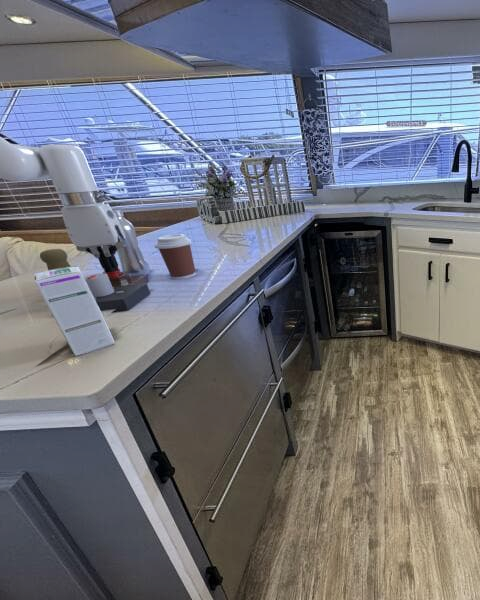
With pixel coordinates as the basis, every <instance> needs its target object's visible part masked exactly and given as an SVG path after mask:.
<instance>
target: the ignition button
mask: <svg viewBox="0 0 480 600" xmlns="http://www.w3.org/2000/svg"><path fill="white" fill-rule="evenodd" d="M121 272H122V270H121V268H118V269H117V270H115V271H113V272H110V271H109V272H105V271H104V270H103V272H102V273H106V274H107V275H108V277H109V278H112V277H117V276H120V275H122V274H121Z"/></svg>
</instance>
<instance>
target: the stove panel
mask: <svg viewBox="0 0 480 600" xmlns="http://www.w3.org/2000/svg"><path fill="white" fill-rule="evenodd" d="M147 283H148V282H147ZM147 283H145V284H136V285H126V286H116V287H113V289H114V292H113V293H112V294H109V295H106V296H102V297H94V298H95V300H96V302H97V304H98V306H99V309H100V311H101V312H102V311H108V310H113V311H111V312H110V313H120V312H121V313H122V312H129V311H130V310H132V309H133V308H134V307H135V306H138V304H139V303H141V302H142V301H143V300H145V299H146V298H147V297H149V296H150V295H151V292H150V289H149V286H148V284H147Z"/></svg>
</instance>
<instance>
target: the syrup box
mask: <svg viewBox="0 0 480 600" xmlns="http://www.w3.org/2000/svg"><path fill="white" fill-rule="evenodd" d="M84 277H85V276H84V275H83V273H82V271H81V269H80V267H79V266H77V265H75V266H74V265H73V266H71V267H65V268H58V269H53V270H49V271H48V270H46V271H41V272H37V273H34V278H33V280H34V284H35V286H36V287H37V289H38V291H39V292H40V294H41V296H42V298H43V301H44V302H45V304H46V306H47V308H48V310H49V311H50V313H51V315H52V317H53V318H54V321H55V322H56V324H57V326H58V328H59V329H60V331H61V333H62V335H63V337H64V339H65V340H66V342H67V344H68V346H69V348H70V350H71V351H72V353H73V355H74V356H76V357H77V356H81V355H85V354H88V353H92V352H94V351H97V350H100V349H101V350H102V349H103V348H107V347H109V346H112V345H115V340H114V337H113V334H112V333H111V330H110V328H109V326H108V324H107V322H106V320H105V317H104V316H103V313H102V310H101V311H100V309H99V306H98V304H97V302H96V300H95V298H94V296H93V294H92V292H91V290H90V288H89V287H88V285H87V283H86V281H85V279H84Z"/></svg>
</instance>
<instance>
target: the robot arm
mask: <svg viewBox="0 0 480 600" xmlns="http://www.w3.org/2000/svg"><path fill="white" fill-rule="evenodd" d="M0 179H3V180H6V181H10V182H11V181H12V182H22V181H24V182H25V181H26V182H27V181H28V182H29V181H39V180H46V179H50V180H51V182H52V184H53V186H54V187H53V188H54V189H55V192H56V193H57V195H58V198H59V200H60V202H61V204H62V207H60V208H61V216H62V219H63V223H64V225H65V229H66V232H67V234H68V236H69V239H70V241H71V243H72V244H73V245H74V246H75V247H76V251H78V252H83V253H89V254H91V255H93V257H94V258H96V259H97V260H98V262H99V264H100V266H101V268H102V269H103V272H104V271H105V272H109V271H110V272H113V271H115V270H117V269H119V264H118V261H117V258H116V256H115V255H116V253H117V250H118V249H119V248H122V247H125V246H126V243H125V242H124V240H125V239H126V236H125V233H124V231H123V229H122V227H121V225H120V223H119V221H118V219H117V217H116V215H115V214H114V212H113V210H114V209H112V207H111V206H110V205H109V203H104V202H105V201H104V200H108V196H107V194H106V193H101V191H100V190H99V188H98V185H97V183H96V180H95V178H94V175H93V173H92V170H91V168H90V165H89V162H88V160H87V158H86V156H85V153H84V151H83V150H82V149H81V148H80V147H79V146H78V145H74V144H44V145H41V146H32V145H31V146H29V145H22V144H15V143H11V142H9V141H7V140H6V139H5V138H4V137H2V136H0ZM115 243H116V244H115ZM114 244H115V245H114Z"/></svg>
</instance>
